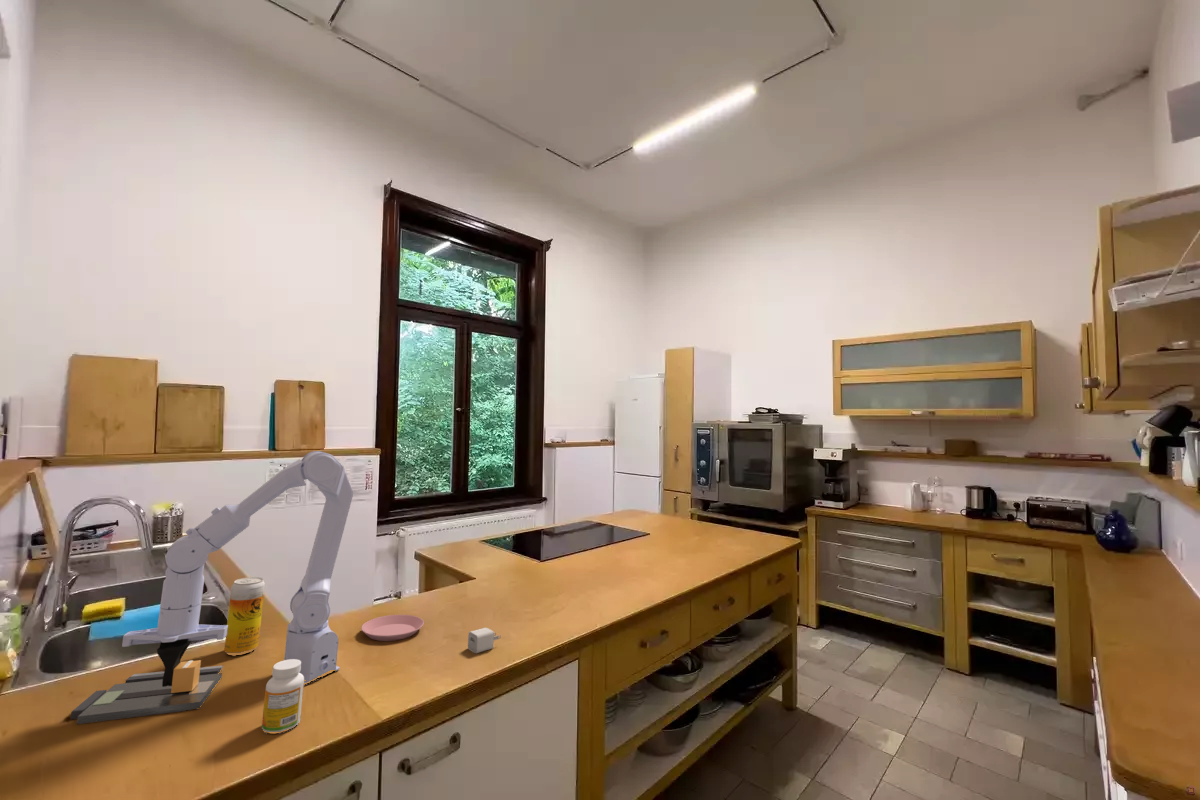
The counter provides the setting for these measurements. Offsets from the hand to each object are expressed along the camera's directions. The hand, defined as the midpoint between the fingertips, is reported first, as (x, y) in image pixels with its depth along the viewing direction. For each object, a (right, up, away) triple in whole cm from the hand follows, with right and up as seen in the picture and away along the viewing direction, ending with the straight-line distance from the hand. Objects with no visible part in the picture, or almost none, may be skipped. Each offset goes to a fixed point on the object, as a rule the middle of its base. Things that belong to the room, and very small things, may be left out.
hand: (170, 683), depth 88 cm
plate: (+25, -7, +34) cm, 43 cm away
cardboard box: (+2, -1, +1) cm, 2 cm away
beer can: (-2, -4, +20) cm, 20 cm away
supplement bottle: (+24, -3, -7) cm, 25 cm away
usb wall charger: (+49, -8, +28) cm, 57 cm away
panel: (-2, -2, -1) cm, 3 cm away
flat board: (-4, -2, +2) cm, 5 cm away
